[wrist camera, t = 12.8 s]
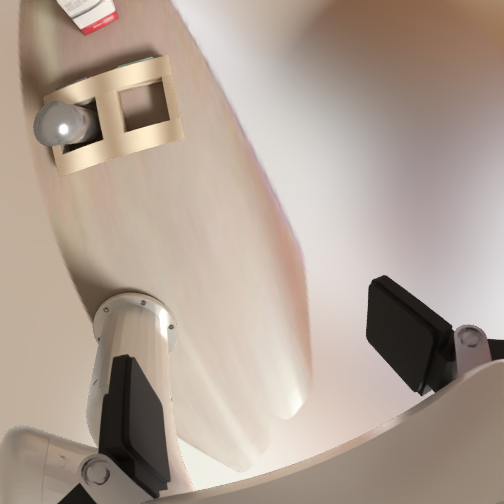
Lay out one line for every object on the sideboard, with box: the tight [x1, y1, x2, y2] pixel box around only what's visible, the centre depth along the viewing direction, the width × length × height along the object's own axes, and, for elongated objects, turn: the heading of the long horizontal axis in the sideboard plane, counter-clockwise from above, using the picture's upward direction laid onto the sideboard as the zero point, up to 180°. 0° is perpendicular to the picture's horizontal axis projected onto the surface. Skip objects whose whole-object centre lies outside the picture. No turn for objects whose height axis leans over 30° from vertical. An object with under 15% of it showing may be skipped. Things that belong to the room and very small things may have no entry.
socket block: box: [43, 55, 184, 178], centre depth 28 cm, size 15×10×3 cm
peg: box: [34, 101, 101, 146], centre depth 24 cm, size 4×4×11 cm
